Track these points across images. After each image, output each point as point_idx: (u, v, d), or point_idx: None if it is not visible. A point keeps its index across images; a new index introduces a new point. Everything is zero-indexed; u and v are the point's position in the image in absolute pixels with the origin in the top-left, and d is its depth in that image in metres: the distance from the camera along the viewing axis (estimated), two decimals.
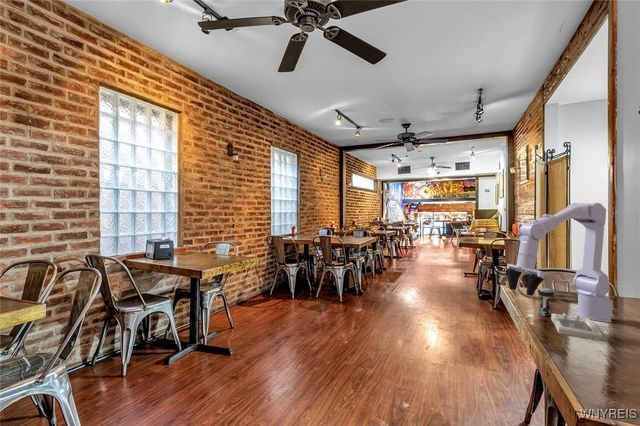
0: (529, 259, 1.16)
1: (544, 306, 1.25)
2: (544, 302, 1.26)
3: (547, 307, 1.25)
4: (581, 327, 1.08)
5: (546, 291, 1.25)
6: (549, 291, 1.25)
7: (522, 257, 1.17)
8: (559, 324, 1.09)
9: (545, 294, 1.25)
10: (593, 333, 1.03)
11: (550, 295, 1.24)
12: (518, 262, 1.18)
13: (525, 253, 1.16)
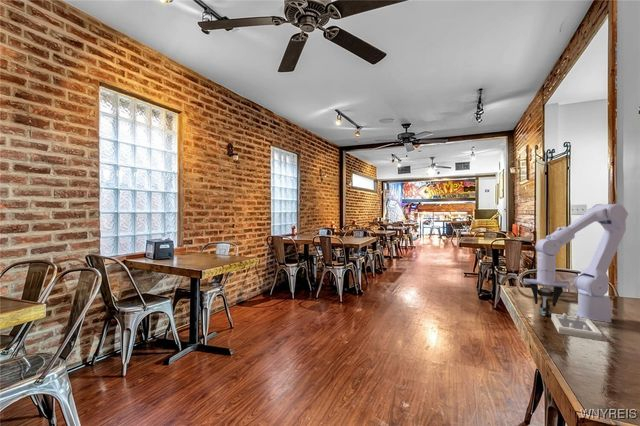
0: (554, 274, 1.24)
1: (544, 306, 1.25)
2: (544, 302, 1.26)
3: (547, 307, 1.26)
4: (581, 327, 1.08)
5: (545, 291, 1.25)
6: (548, 291, 1.25)
7: (549, 274, 1.23)
8: (559, 324, 1.09)
9: (545, 294, 1.25)
10: (593, 333, 1.03)
11: (550, 295, 1.24)
12: (545, 278, 1.24)
13: (541, 268, 1.25)
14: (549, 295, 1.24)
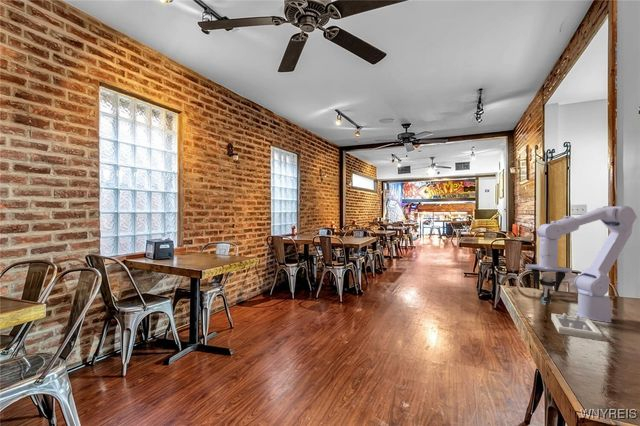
0: (556, 259, 1.23)
1: (545, 295, 1.25)
2: (545, 291, 1.25)
3: (548, 296, 1.25)
4: (581, 327, 1.08)
5: (548, 280, 1.24)
6: (551, 280, 1.24)
7: (551, 259, 1.22)
8: (559, 324, 1.09)
9: (547, 283, 1.24)
10: (593, 333, 1.03)
11: (552, 284, 1.24)
12: (547, 263, 1.23)
13: (544, 253, 1.24)
14: (551, 285, 1.24)
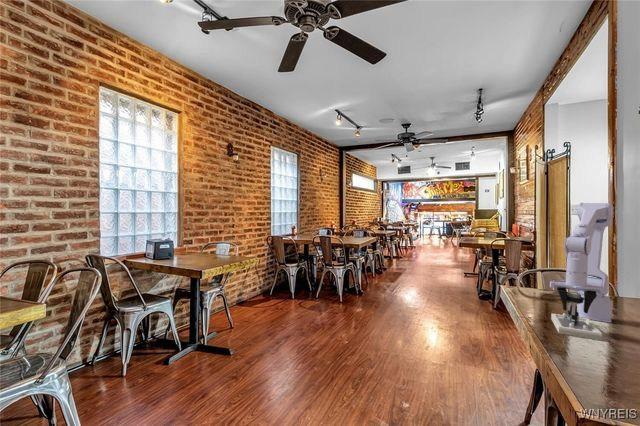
0: (586, 276, 1.09)
1: (573, 313, 1.12)
2: (573, 309, 1.12)
3: (576, 314, 1.12)
4: (581, 327, 1.08)
5: (576, 296, 1.11)
6: (579, 296, 1.11)
7: (581, 276, 1.08)
8: (559, 324, 1.09)
9: (575, 300, 1.11)
10: (593, 333, 1.03)
11: (580, 301, 1.11)
12: (575, 281, 1.09)
13: (580, 271, 1.09)
14: (580, 301, 1.11)
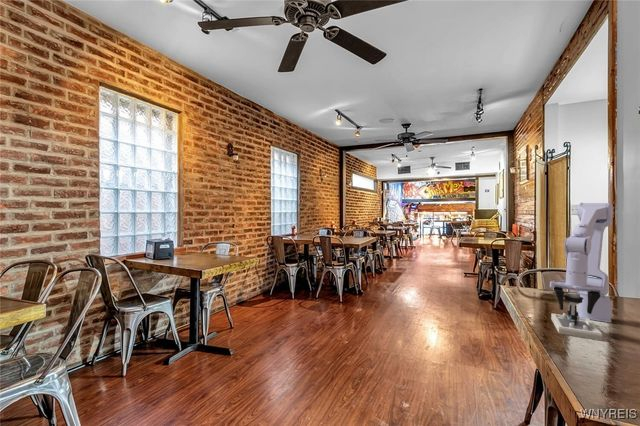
0: (586, 276, 1.09)
1: (573, 313, 1.12)
2: (573, 309, 1.12)
3: (576, 314, 1.12)
4: (581, 327, 1.08)
5: (575, 296, 1.12)
6: (578, 296, 1.11)
7: (581, 276, 1.08)
8: (559, 324, 1.09)
9: (574, 300, 1.11)
10: (593, 333, 1.03)
11: (579, 301, 1.11)
12: (576, 281, 1.09)
13: (580, 271, 1.09)
14: (579, 301, 1.11)
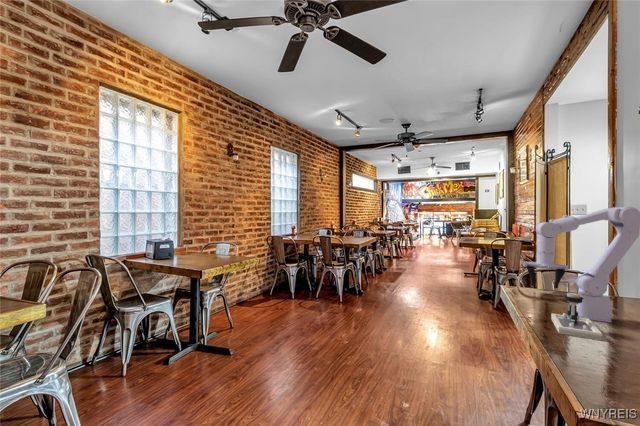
0: (553, 256, 1.26)
1: (573, 313, 1.12)
2: (572, 309, 1.12)
3: (576, 314, 1.12)
4: (581, 327, 1.08)
5: (575, 296, 1.12)
6: (578, 296, 1.11)
7: (548, 256, 1.26)
8: (559, 324, 1.09)
9: (574, 300, 1.11)
10: (593, 333, 1.03)
11: (579, 301, 1.11)
12: (544, 260, 1.26)
13: (540, 250, 1.28)
14: (579, 301, 1.11)
